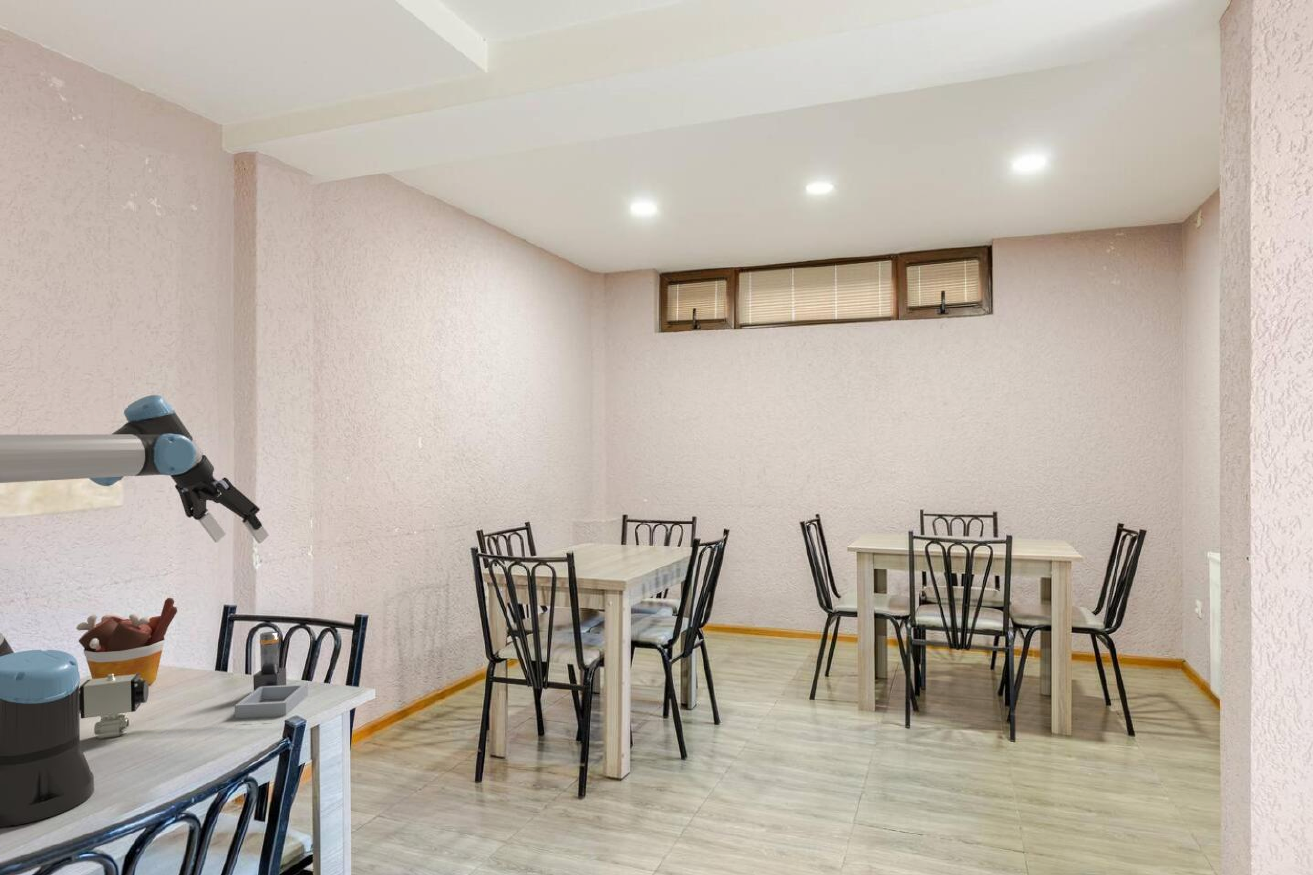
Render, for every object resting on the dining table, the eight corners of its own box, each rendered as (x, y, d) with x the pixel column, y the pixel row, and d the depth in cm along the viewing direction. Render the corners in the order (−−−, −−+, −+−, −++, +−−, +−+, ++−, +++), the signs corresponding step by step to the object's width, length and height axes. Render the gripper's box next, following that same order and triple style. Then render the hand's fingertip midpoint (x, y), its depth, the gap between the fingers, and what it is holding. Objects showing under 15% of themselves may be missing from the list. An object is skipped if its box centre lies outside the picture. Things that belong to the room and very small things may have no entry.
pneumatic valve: (144, 734, 150) (142, 673, 150) (71, 744, 146) (70, 681, 146) (150, 724, 156) (149, 665, 156) (81, 734, 151) (79, 673, 151)
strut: (277, 694, 168) (276, 635, 168) (253, 695, 168) (252, 636, 168) (286, 687, 173) (285, 630, 173) (263, 688, 173) (262, 631, 173)
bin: (286, 722, 155) (285, 702, 155) (235, 725, 154) (234, 705, 154) (308, 702, 167) (307, 684, 167) (260, 704, 166) (260, 686, 166)
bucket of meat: (71, 704, 169) (70, 614, 169) (81, 684, 183) (80, 601, 183) (178, 687, 179) (176, 603, 179) (179, 670, 194) (178, 591, 194)
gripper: (241, 450, 157) (293, 527, 168) (160, 454, 167) (215, 526, 178) (214, 473, 152) (270, 551, 163) (133, 475, 161) (190, 549, 173)
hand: (241, 538), depth 171 cm, fingers open, 13 cm apart
